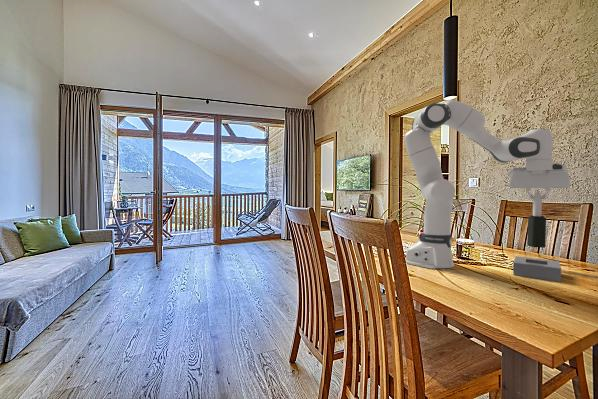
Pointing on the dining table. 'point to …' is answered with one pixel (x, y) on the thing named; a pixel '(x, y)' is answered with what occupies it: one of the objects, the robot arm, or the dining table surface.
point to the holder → (537, 268)
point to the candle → (536, 224)
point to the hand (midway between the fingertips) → (537, 198)
